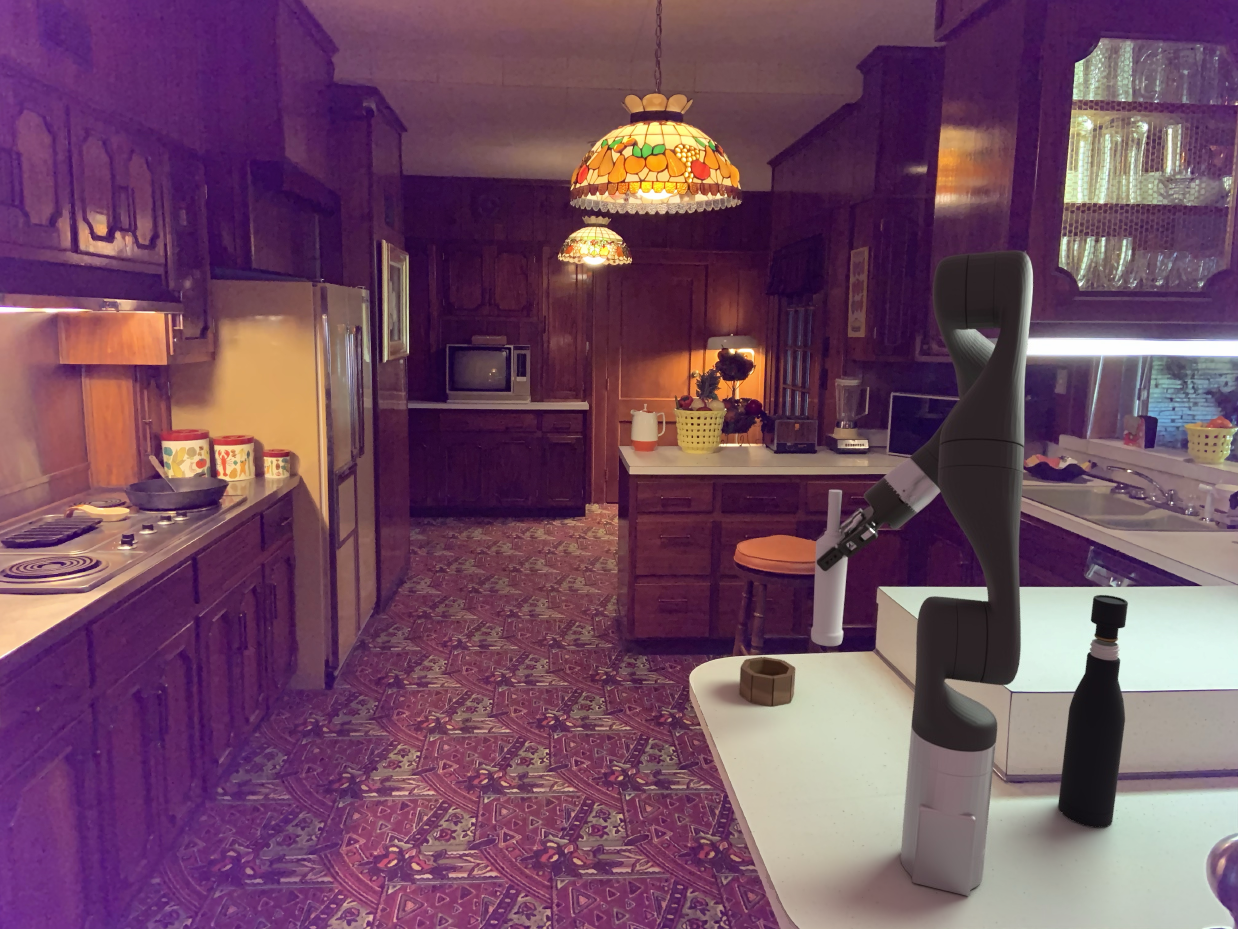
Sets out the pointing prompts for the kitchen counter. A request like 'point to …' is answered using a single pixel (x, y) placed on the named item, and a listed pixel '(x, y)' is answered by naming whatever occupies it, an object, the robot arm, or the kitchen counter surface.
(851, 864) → the kitchen counter surface
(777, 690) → the wooden cup
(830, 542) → the bottle
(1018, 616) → the robot arm
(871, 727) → the kitchen counter surface
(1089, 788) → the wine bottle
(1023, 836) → the kitchen counter surface
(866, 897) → the kitchen counter surface
